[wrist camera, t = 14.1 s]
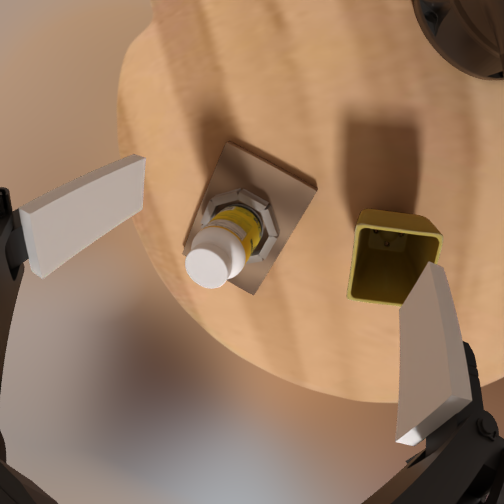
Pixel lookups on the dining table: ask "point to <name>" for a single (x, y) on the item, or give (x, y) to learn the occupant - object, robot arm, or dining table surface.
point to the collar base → (254, 206)
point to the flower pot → (390, 255)
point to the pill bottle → (224, 246)
